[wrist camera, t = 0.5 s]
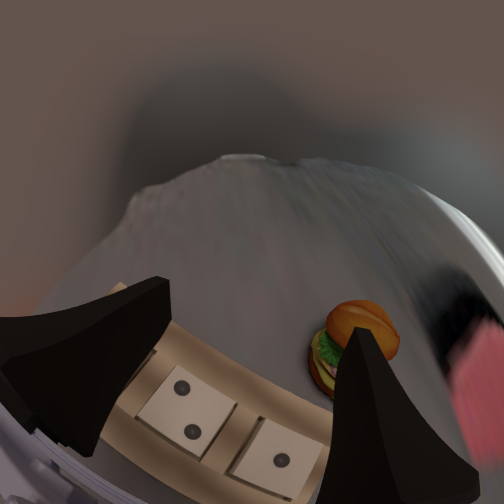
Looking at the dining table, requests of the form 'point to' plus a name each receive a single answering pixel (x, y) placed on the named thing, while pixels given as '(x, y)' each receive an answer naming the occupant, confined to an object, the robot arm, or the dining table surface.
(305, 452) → the one dot tile
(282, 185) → the dining table surface
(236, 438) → the tile board
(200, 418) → the two dot tile
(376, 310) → the cheeseburger
